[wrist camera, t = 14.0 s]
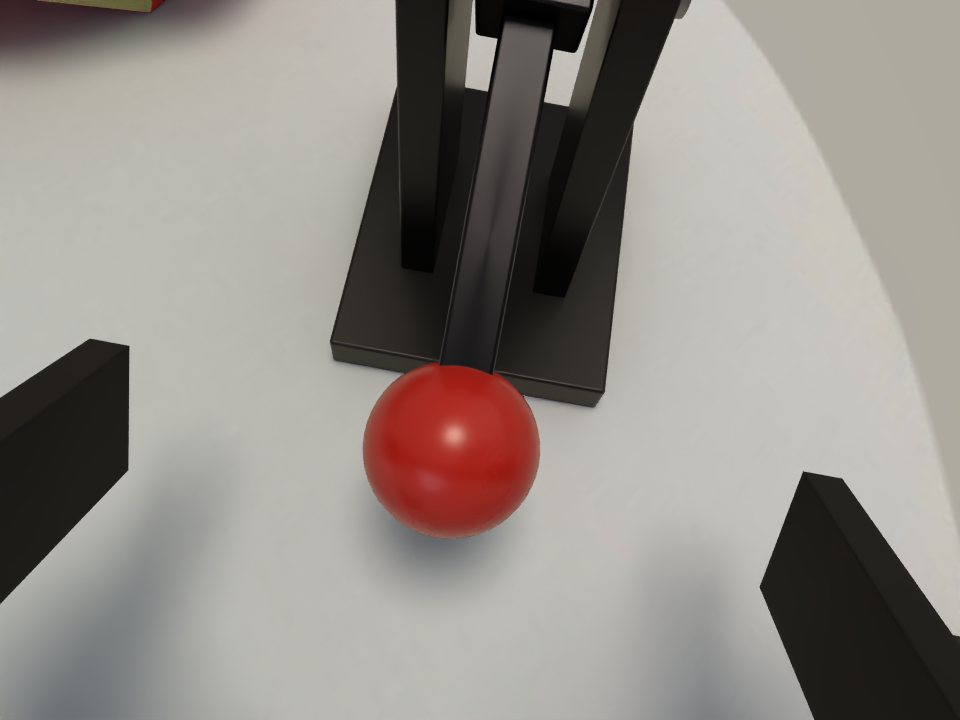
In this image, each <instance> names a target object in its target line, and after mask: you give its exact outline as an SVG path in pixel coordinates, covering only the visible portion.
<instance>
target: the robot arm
mask: <svg viewBox="0 0 960 720" xmlns="http://www.w3.org/2000/svg"><path fill="white" fill-rule="evenodd" d="M128 449H129V346H127V345H121V344H116V343H111V342H105V341H100V340H95V339H89V340H87V341H86V342H84V343H82V344H81V345H79V346H78V347H76V348H75V349H73V350H72V351H70V352H69V353H67V354H66V355H64V356H63V357H61V358H60V359H58V360H57V361H55V362H54V363H52V364H51V365H49V366H48V367H46V368H45V369H43V370H42V371H40V372H39V373H37V374H36V375H34V376H33V377H31V378H29V379H28V380H26V381H25V382H23V383H22V384H20V385H19V386H17V387H16V388H14V389H13V390H11V391H10V392H8V393H7V394H5V395H4V396H2V397H1V398H0V604H1V603H2V602H3V601H4V600H5V598H6V597H7V596H8V595H9V594H10V593H11V592H12V591H13V590H14V589H15V588H16V587H17V586H18V585H19V584H20V583H21V582H22V581H23V580H24V579H25V578H26V577H27V575H28V574H29V573H30V572H31V571H32V570H33V569H34V568H35V567H36V566H37V565H38V564H39V563H40V562H41V561H42V560H43V559H44V558H45V557H46V556H47V555H48V554H49V552H50V551H51V550H52V549H53V548H54V547H55V546H56V545H57V544H58V543H59V542H60V541H61V540H62V539H63V538H64V537H65V536H66V535H67V534H68V533H69V532H70V531H71V529H72V528H73V527H74V526H75V525H76V524H77V523H78V522H79V521H80V520H81V519H82V518H83V517H84V516H85V515H86V514H87V513H88V512H89V511H90V510H91V509H92V508H93V506H94V505H95V504H96V503H97V502H98V501H99V500H100V499H101V498H102V497H103V496H104V495H105V494H106V493H107V492H108V491H109V490H110V489H111V488H112V487H113V486H114V485H115V483H116V482H117V481H118V480H119V479H120V478H121V477H122V476H123V475H124V474H125V473H126V472H127V471H128ZM760 589H761V592H762V594H763V596H764V599H765V601H766V604H767V606H768V609H769V611H770V613H771V616H772V618H773V621H774V623H775V625H776V628H777V630H778V633H779V635H780V638H781V640H782V642H783V645H784V647H785V650H786V652H787V654H788V657H789V659H790V662H791V664H792V667H793V669H794V671H795V674H796V676H797V679H798V681H799V683H800V686H801V688H802V691H803V693H804V696H805V698H806V700H807V703H808V705H809V708H810V710H811V713H812V715H813V717H814V720H960V636H955V635H952V633H951V632H950V630H949V629H948V627H947V626H946V625H945V623H944V622H943V620H942V619H941V618H940V616H939V615H938V613H937V612H936V611H935V609H934V608H933V606H932V605H931V603H930V602H929V601H928V599H927V598H926V596H925V595H924V594H923V592H922V591H921V589H920V588H919V586H918V585H917V584H916V582H915V581H914V579H913V578H912V577H911V575H910V574H909V572H908V571H907V569H906V568H905V567H904V565H903V564H902V562H901V561H900V560H899V558H898V557H897V555H896V554H895V553H894V551H893V550H892V548H891V547H890V545H889V544H888V543H887V541H886V540H885V538H884V537H883V536H882V534H881V533H880V531H879V530H878V528H877V527H876V526H875V524H874V523H873V521H872V520H871V519H870V517H869V516H868V514H867V513H866V511H865V510H864V509H863V507H862V506H861V504H860V503H859V502H858V500H857V499H856V497H855V496H854V495H853V493H852V492H851V490H850V489H849V487H848V486H847V485H846V483H845V482H844V480H843V479H841V478H836V477H830V476H825V475H820V474H814V473H809V472H804V471H803V473H802V476H801V478H800V481H799V484H798V486H797V489H796V492H795V494H794V497H793V500H792V502H791V505H790V508H789V510H788V513H787V516H786V518H785V521H784V524H783V526H782V529H781V532H780V534H779V537H778V540H777V542H776V545H775V548H774V550H773V553H772V556H771V558H770V561H769V564H768V566H767V569H766V572H765V574H764V577H763V580H762V582H761V585H760Z"/></svg>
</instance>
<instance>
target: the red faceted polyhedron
mask: <svg viewBox="0 0 960 720" xmlns="http://www.w3.org/2000/svg"><path fill="white" fill-rule="evenodd" d="M39 1H48V2H57V3H67V4H76V5H85V6H95V7H104V8H113V9H123V10H132V11H141V12H150V13H151V12H152V11H153V10H154V9H155V8H156V7H157V6H159V5H160V4H161V3H162V2H163V1H164V0H39Z"/></svg>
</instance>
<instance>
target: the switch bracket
mask: <svg viewBox="0 0 960 720" xmlns="http://www.w3.org/2000/svg"><path fill="white" fill-rule="evenodd" d="M472 1H473V0H395V2H396V50H397V87H396V91H395V95H394V99H393V103H392V106H391V110H390V114H389V118H388V122H387V125H386V129H385V133H384V137H383V141H382V145H381V148H380V152H379V156H378V160H377V164H376V167H375V171H374V175H373V179H372V183H371V186H370V190H369V194H368V198H367V202H366V205H365V209H364V213H363V217H362V221H361V225H360V228H359V232H358V236H357V240H356V244H355V247H354V251H353V255H352V259H351V263H350V266H349V270H348V274H347V278H346V282H345V285H344V289H343V293H342V297H341V301H340V305H339V308H338V312H337V316H336V320H335V324H334V327H333V331H332V335H331V339H330V345H331V349H332V353H333V358H334V359H335V360H340V361H345V362H351V363H356V364H361V365H367V366H372V367H378V368H383V369H389V370H394V371H400V372H405V373H407V372H408V371H410V370H412V369H414V368H417V367H419V366H421V365H425V364H428V363H432V362H437V361H439V360H440V355H441V349H442V344H443V338H444V333H445V327H446V322H447V316H448V310H449V305H450V299H451V294H452V288H453V283H454V277H455V272H456V266H457V261H458V255H459V250H460V244H461V239H462V233H463V228H464V222H465V217H466V211H467V205H468V200H469V194H470V189H471V183H472V178H473V172H474V167H475V161H476V156H477V150H478V145H479V139H480V134H481V128H482V123H483V117H484V111H485V106H486V100H487V95H488V92H487V91H482V90H476V89H471V88H466V87H465V79H466V68H467V57H468V46H469V35H470V24H471V13H472ZM690 3H691V0H598V1H597V5H596V9H595V12H594V16H593V20H592V23H591V27H590V31H589V34H588V38H587V42H586V45H585V49H584V53H583V57H582V60H581V64H580V68H579V71H578V75H577V79H576V82H575V86H574V90H573V93H572V97H571V101H570V104H569V107H567V106H562V105H557V104H551V103H546V102H544V103H543V109H542V114H541V120H540V125H539V130H538V136H537V141H536V147H535V152H534V158H533V163H532V168H531V174H530V179H529V185H528V190H527V195H526V201H525V206H524V212H523V217H522V222H521V228H520V233H519V239H518V244H517V250H516V255H515V260H514V266H513V271H512V277H511V282H510V287H509V293H508V298H507V304H506V309H505V314H504V320H503V325H502V331H501V336H500V342H499V347H498V352H497V358H496V363H495V369H494V371H495V372H496V373H498V374H500V375H501V376H503V377H504V378H505V379H507V380H508V381H509V382H510V383H511V384H512V385H513V386H514V387H515V388H517V389H518V391H519V392H520V393H521V394H526V395H531V396H537V397H542V398H548V399H553V400H559V401H564V402H569V403H575V404H580V405H586V406H591V407H594V406H596V404H597V403H598V401H599V400H600V398H601V397H602V395H603V394H604V392H605V385H606V376H607V366H608V357H609V348H610V339H611V330H612V320H613V311H614V302H615V293H616V283H617V274H618V265H619V256H620V246H621V237H622V228H623V219H624V210H625V200H626V191H627V182H628V173H629V163H630V154H631V145H632V136H633V127H634V121H635V118H636V115H637V113H638V110H639V108H640V105H641V103H642V100H643V98H644V95H645V92H646V90H647V87H648V85H649V82H650V80H651V77H652V75H653V72H654V70H655V67H656V64H657V62H658V59H659V57H660V54H661V52H662V49H663V47H664V44H665V41H666V39H667V36H668V34H669V31H670V29H671V26H672V24H673V21H674V19H682V18H683V17H684V15H685V14H686V12H687V10H688V8H689V5H690Z"/></svg>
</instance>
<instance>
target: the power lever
mask: <svg viewBox="0 0 960 720" xmlns="http://www.w3.org/2000/svg"><path fill="white" fill-rule="evenodd" d="M593 4H594V0H475V21H476V34H478V35H480V36H485V37H491V38H496V39H498V40H497V45H496V51H495V56H494V62H493V67H492V73H491V78H490V84H489V89H488V95H487V100H486V106H485V111H484V117H483V123H482V128H481V134H480V139H479V145H478V150H477V156H476V161H475V167H474V172H473V178H472V183H471V189H470V194H469V200H468V205H467V211H466V217H465V222H464V228H463V233H462V239H461V244H460V250H459V255H458V261H457V266H456V272H455V277H454V283H453V288H452V294H451V299H450V305H449V310H448V316H447V322H446V327H445V333H444V338H443V344H442V349H441V355H440V360H439V361H437V362H432V363H428V364H425V365H421V366H419V367H417V368H414V369H412V370H410V371H408V372H407V373H405V374H403V375H402V376H400V377H399V378H398V379H397V380H395V381H394V382H393V383H392V384H391V385H390V386H389V387H388V388H387V389H386V390H385V391H384V392H383V394H382V395H381V396H380V398H379V399H378V400H377V402H376V404H375V406H374V408H373V409H372V411H371V413H370V416H369V418H368V421H367V424H366V428H365V432H364V438H363V461H364V467H365V471H366V475H367V478H368V481H369V483H370V486H371V488H372V490H373V492H374V494H375V495H376V497H377V499H378V500H379V502H380V503H381V504H382V506H383V507H384V508H385V509H386V510H387V511H388V512H389V513H390V514H391V515H392V516H393V517H394V518H395V519H396V520H398V521H399V522H401V523H402V524H403V525H405V526H407V527H409V528H410V529H412V530H414V531H417V532H419V533H422V534H425V535H429V536H433V537H438V538H464V537H470V536H474V535H477V534H481V533H483V532H485V531H488V530H490V529H492V528H494V527H495V526H497V525H499V524H500V523H502V522H503V521H504V520H506V519H507V518H508V517H509V516H510V515H511V514H512V513H513V512H514V511H515V510H516V509H517V508H518V507H519V506H520V505H521V503H522V502H523V501H524V499H525V498H526V496H527V495H528V493H529V491H530V489H531V487H532V485H533V483H534V480H535V478H536V474H537V470H538V466H539V458H540V440H539V433H538V428H537V424H536V421H535V418H534V415H533V413H532V411H531V408H530V407H529V405H528V403H527V402H526V400H525V398H524V397H523V396H522V395H521V393H520V392H519V391H518V389H517V388H515V387H514V386H513V385H512V384H511V383H510V382H509V381H508V380H507V379H505V378H504V377H503V376H501V375H500V374H498V373H496V372H495V371H494V369H495V363H496V358H497V352H498V347H499V342H500V336H501V331H502V325H503V320H504V314H505V309H506V304H507V298H508V293H509V287H510V282H511V277H512V271H513V266H514V260H515V255H516V250H517V244H518V239H519V233H520V228H521V222H522V217H523V212H524V206H525V201H526V195H527V190H528V185H529V179H530V174H531V168H532V163H533V158H534V152H535V147H536V141H537V136H538V130H539V125H540V120H541V114H542V109H543V103H544V98H545V93H546V87H547V82H548V76H549V71H550V66H551V60H552V55H553V49H555V50H560V51H565V52H571V53H575V52H576V51H577V50H578V47H579V44H580V42H581V39H582V36H583V33H584V31H585V28H586V25H587V23H588V20H589V17H590V14H591V12H592V9H593Z"/></svg>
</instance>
